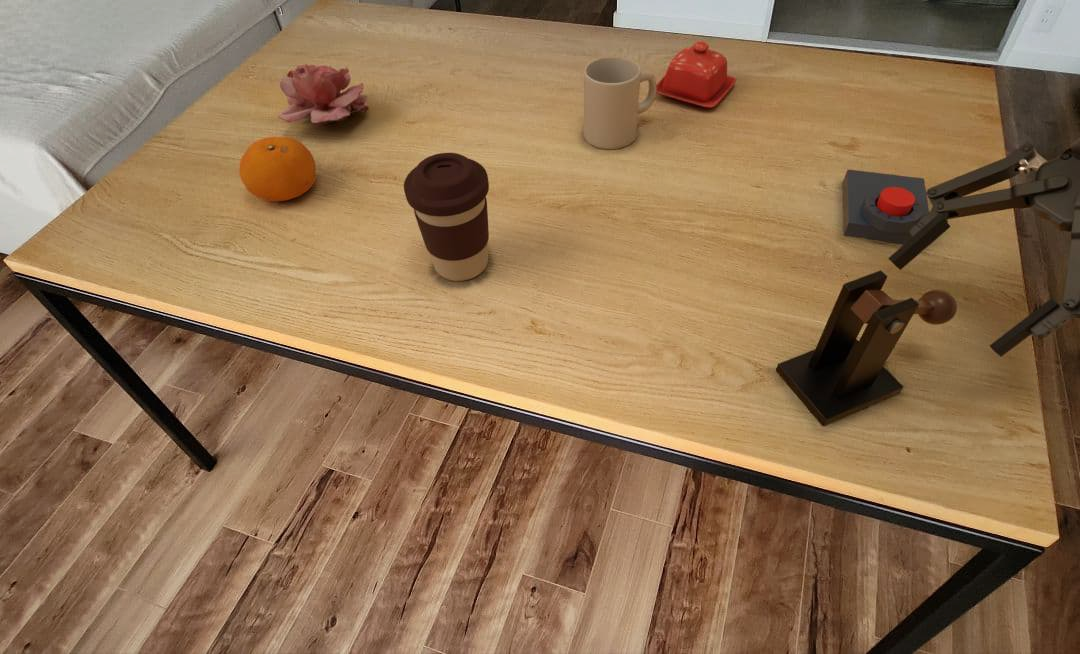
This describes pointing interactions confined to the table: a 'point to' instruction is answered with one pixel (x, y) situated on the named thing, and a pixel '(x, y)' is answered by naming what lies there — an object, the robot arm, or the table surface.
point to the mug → (614, 101)
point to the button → (895, 201)
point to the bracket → (850, 356)
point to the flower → (320, 94)
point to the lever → (931, 304)
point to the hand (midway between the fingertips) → (941, 305)
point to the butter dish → (697, 76)
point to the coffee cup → (451, 213)
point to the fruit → (277, 168)
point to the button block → (865, 215)
